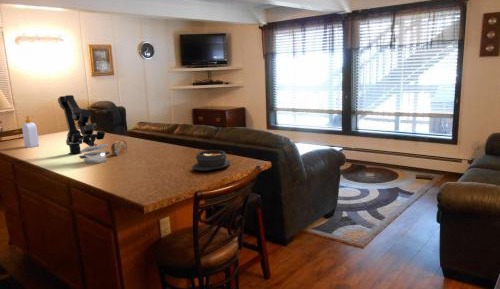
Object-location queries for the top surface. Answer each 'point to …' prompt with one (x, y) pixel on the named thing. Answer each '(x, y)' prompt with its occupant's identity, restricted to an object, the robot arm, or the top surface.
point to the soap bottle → (30, 134)
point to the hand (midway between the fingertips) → (93, 147)
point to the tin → (119, 147)
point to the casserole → (211, 160)
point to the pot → (94, 157)
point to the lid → (94, 148)
